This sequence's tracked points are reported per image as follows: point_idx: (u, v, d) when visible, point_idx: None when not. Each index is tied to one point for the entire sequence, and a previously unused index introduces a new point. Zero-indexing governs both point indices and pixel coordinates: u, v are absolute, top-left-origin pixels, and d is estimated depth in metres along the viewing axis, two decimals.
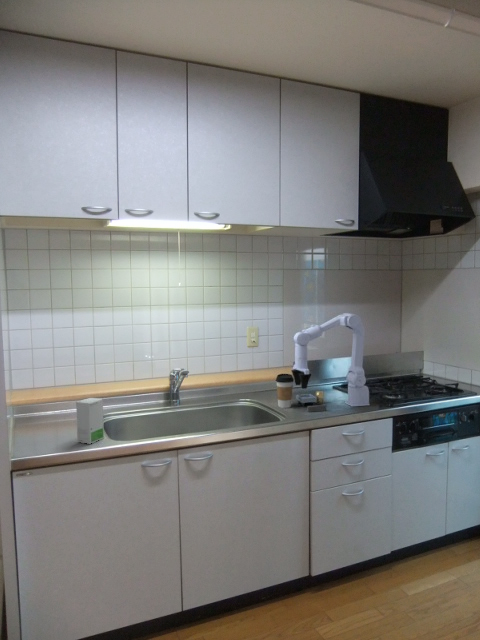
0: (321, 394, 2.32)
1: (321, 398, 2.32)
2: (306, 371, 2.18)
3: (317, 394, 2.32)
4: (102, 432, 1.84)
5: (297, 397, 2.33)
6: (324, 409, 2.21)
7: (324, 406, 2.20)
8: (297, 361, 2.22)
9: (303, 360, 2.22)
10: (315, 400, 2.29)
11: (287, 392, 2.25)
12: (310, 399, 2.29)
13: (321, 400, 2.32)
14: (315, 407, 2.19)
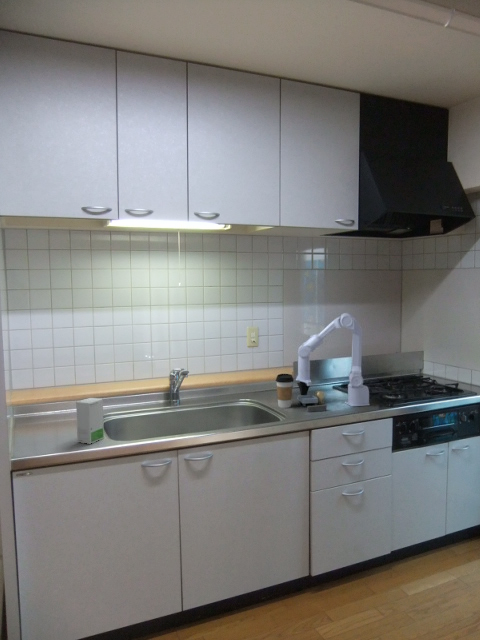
0: (321, 394, 2.32)
1: (321, 398, 2.32)
2: (308, 383, 2.27)
3: (317, 394, 2.32)
4: (102, 432, 1.84)
5: (298, 398, 2.32)
6: (324, 409, 2.21)
7: (324, 406, 2.20)
8: (300, 373, 2.32)
9: (306, 372, 2.31)
10: (316, 401, 2.28)
11: (287, 392, 2.25)
12: (311, 400, 2.27)
13: (321, 400, 2.32)
14: (315, 407, 2.19)
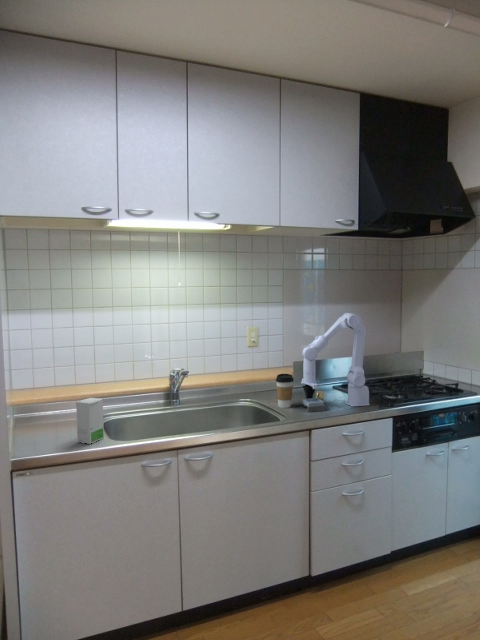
0: (321, 394, 2.32)
1: (321, 398, 2.32)
2: (314, 386, 2.21)
3: (317, 394, 2.32)
4: (102, 432, 1.84)
5: (304, 401, 2.25)
6: (324, 409, 2.21)
7: (324, 406, 2.20)
8: (305, 375, 2.26)
9: (311, 374, 2.25)
10: (322, 404, 2.21)
11: (287, 392, 2.25)
12: (317, 403, 2.21)
13: None
14: (315, 407, 2.19)
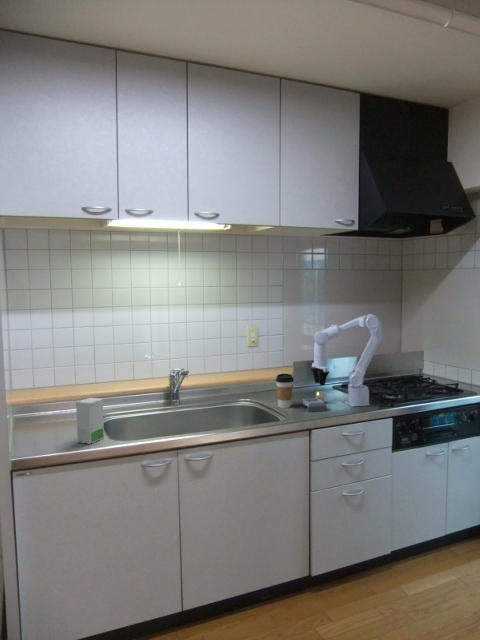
0: (321, 394, 2.32)
1: (321, 398, 2.32)
2: (325, 369, 2.25)
3: (317, 394, 2.32)
4: (102, 432, 1.84)
5: (304, 401, 2.25)
6: (324, 409, 2.21)
7: (324, 406, 2.20)
8: (316, 359, 2.30)
9: (322, 358, 2.29)
10: (322, 404, 2.21)
11: (287, 392, 2.25)
12: (317, 403, 2.21)
13: None
14: (315, 407, 2.19)
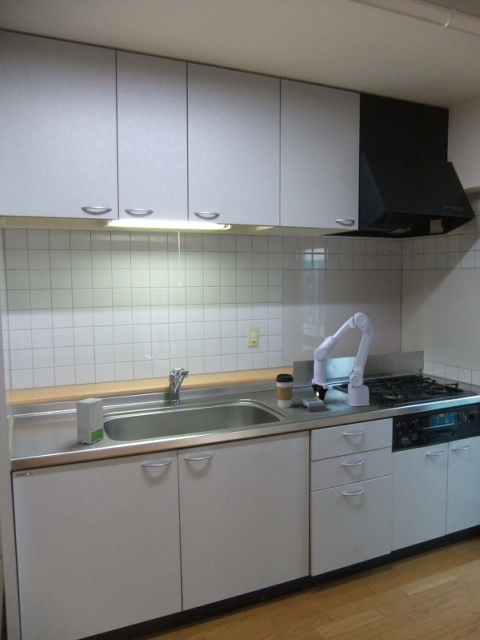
0: None
1: None
2: (325, 386, 2.26)
3: (317, 394, 2.32)
4: (102, 432, 1.84)
5: (304, 401, 2.25)
6: (324, 409, 2.21)
7: (324, 406, 2.20)
8: (316, 376, 2.31)
9: (322, 375, 2.30)
10: (322, 404, 2.21)
11: (287, 392, 2.25)
12: (317, 403, 2.21)
13: None
14: (315, 407, 2.19)
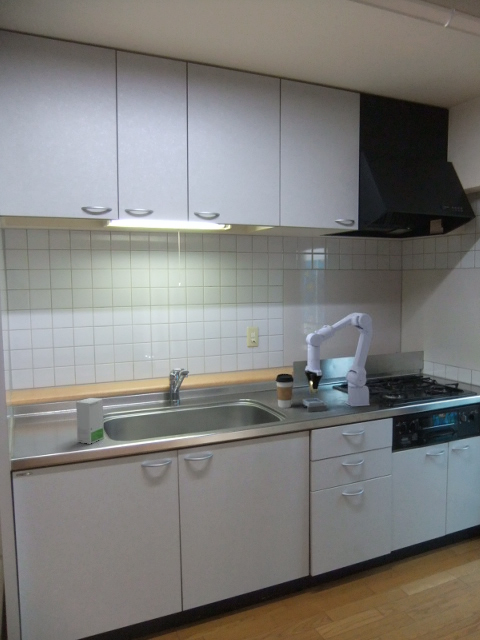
0: None
1: None
2: (319, 372, 2.17)
3: (311, 383, 2.23)
4: (102, 432, 1.84)
5: (304, 401, 2.25)
6: (324, 409, 2.21)
7: (324, 406, 2.20)
8: (310, 362, 2.22)
9: (316, 361, 2.21)
10: (322, 404, 2.21)
11: (287, 392, 2.25)
12: (317, 403, 2.21)
13: (316, 389, 2.23)
14: (315, 407, 2.19)
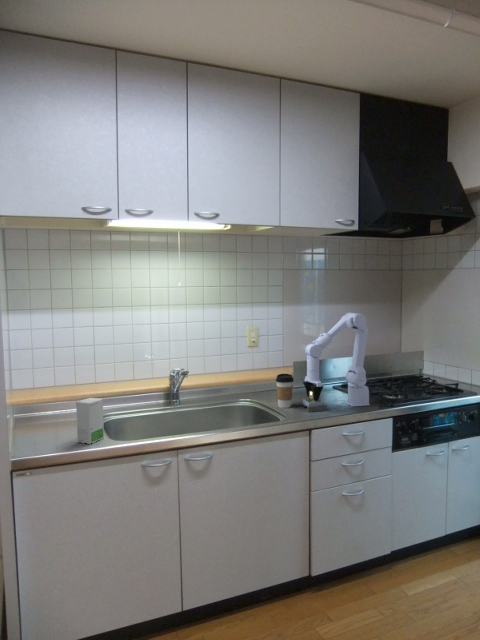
0: None
1: None
2: (318, 383, 2.16)
3: (311, 394, 2.23)
4: (102, 432, 1.84)
5: (304, 401, 2.25)
6: (324, 409, 2.21)
7: (324, 406, 2.20)
8: (309, 373, 2.21)
9: (315, 372, 2.20)
10: (322, 404, 2.21)
11: (287, 392, 2.25)
12: (317, 403, 2.21)
13: None
14: (315, 407, 2.19)
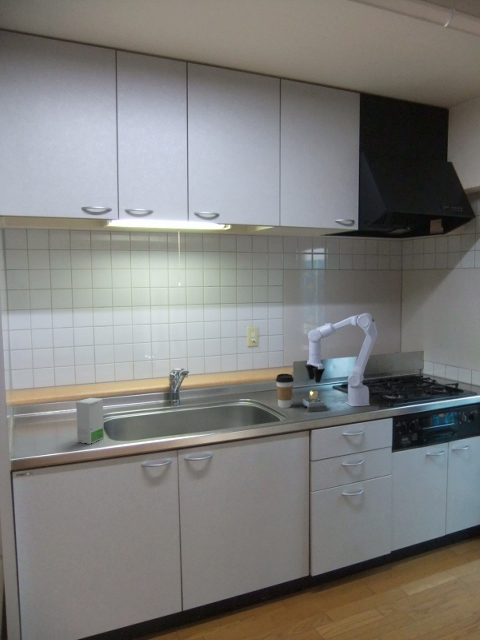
0: (316, 393, 2.22)
1: (316, 397, 2.23)
2: (320, 366, 2.30)
3: (311, 394, 2.22)
4: (102, 432, 1.84)
5: (304, 401, 2.25)
6: (324, 409, 2.21)
7: (324, 406, 2.20)
8: (311, 356, 2.35)
9: (317, 355, 2.34)
10: (322, 404, 2.21)
11: (287, 392, 2.25)
12: (317, 403, 2.21)
13: (315, 399, 2.23)
14: (315, 407, 2.19)
